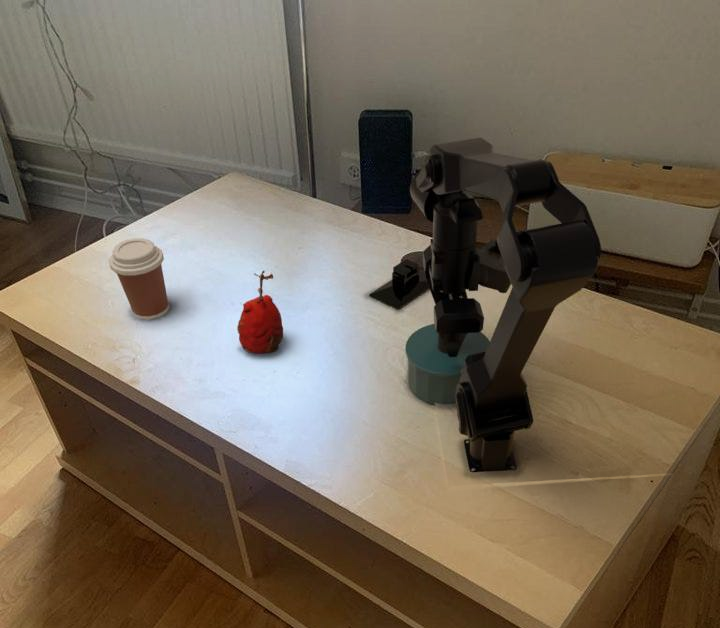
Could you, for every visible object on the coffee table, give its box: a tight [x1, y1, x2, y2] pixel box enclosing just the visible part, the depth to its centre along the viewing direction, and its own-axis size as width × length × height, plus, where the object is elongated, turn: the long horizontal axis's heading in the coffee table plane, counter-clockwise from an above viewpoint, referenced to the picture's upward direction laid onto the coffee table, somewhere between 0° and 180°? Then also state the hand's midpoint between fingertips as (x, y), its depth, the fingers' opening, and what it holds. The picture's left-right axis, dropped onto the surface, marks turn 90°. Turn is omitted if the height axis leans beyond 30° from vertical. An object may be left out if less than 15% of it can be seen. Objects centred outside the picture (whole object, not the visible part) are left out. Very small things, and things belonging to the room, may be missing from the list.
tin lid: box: [404, 323, 491, 377], centre depth 106 cm, size 13×13×6 cm
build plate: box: [368, 258, 430, 311], centre depth 129 cm, size 12×7×5 cm, turn 137°
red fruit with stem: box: [236, 270, 284, 355], centre depth 115 cm, size 8×7×15 cm
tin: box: [407, 359, 461, 406], centre depth 110 cm, size 12×12×6 cm
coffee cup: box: [108, 237, 170, 320], centre depth 125 cm, size 9×9×12 cm
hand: (448, 337), depth 106 cm, fingers open, 9 cm apart
